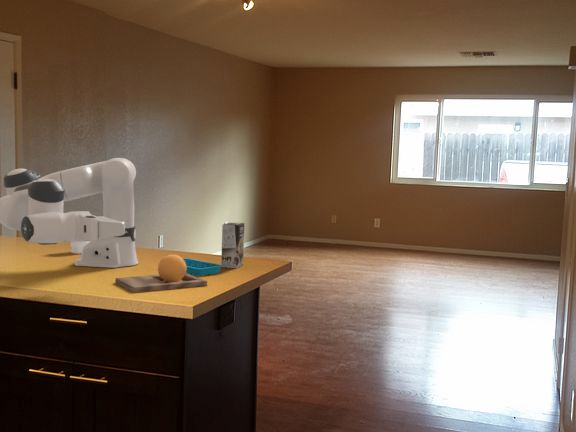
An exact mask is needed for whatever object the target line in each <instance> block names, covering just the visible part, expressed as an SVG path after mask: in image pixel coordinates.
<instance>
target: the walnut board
mask: <svg viewBox="0 0 576 432" xmlns="http://www.w3.org/2000/svg"><path fill="white" fill-rule="evenodd" d="M181 280H183V281H178V282H171V283H170V282H166V281H164V280H163V279H162V278H161V277H160V275H159V274H152V275H151V274H150V275H140V276H127V277H115V280H114V281H115V284H116V285H119V286H120V287H122V288H124V289H126V290H128V291H130V292H132V293H142V292H143V293H144V292H153V291H155V292H157V291H163V290H164V291H165V290H174V289H177V290H178V289H186V288H195V287H207V286H208V280H205V279H203V278H200V277H199V276H196V275H191V274H188V273H186V274H185V276H184V277H183V278H182V279H181Z"/></svg>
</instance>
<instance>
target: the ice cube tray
mask: <svg viewBox="0 0 576 432" xmlns="http://www.w3.org/2000/svg"><path fill="white" fill-rule="evenodd" d="M182 259H183V260H184V261H185V263H186V267H187V270H186V273H188V274H192V275H193V276H196V277H203V275H204V276H208V275H209V274H210V275H215V274H220V271H221V268H223V267H222V266H223V265H221V264H218V263H214V262H208V261H205V260H204V261H203V260H198V259H193V258H188V257H187V258H185V257H184V258H182ZM210 275H209V276H210Z"/></svg>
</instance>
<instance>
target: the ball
mask: <svg viewBox="0 0 576 432" xmlns="http://www.w3.org/2000/svg"><path fill="white" fill-rule="evenodd" d="M183 259H184V258H183V257H181V255H177V254H168V255H165V256H164V257H162V258H161V260H160V261H159V263H158V267H157V272H158V275H160V277H161V278H162V279H163V280H162V281H164V282H165V283H171V282H181V280H183V279H182V278H183V277H184V276H185V274H186V270H187V267H186V263H185V261H184V260H183Z"/></svg>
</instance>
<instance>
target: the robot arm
mask: <svg viewBox="0 0 576 432" xmlns="http://www.w3.org/2000/svg"><path fill="white" fill-rule="evenodd" d="M136 176H137V169H136V167H135V165H134V163H133V162H132V161H131V160H129V159H127V158H124V157H113V158H110V159H107V160H103V161H98V162H95V163H90V164H85V165H80V166H77V167H72V168H71V167H70V168H68V169H64V170H59V171H55V172H52V173H50V174H46V175H44V176H42V175H41V174H40V173H36V172H35V171H34V170H31V169H29V168H16V169H12V170H10V171H9V172H8V173H6V174H5V175H4V176H3V187H4V188H5V191H6V195H3V196H1V197H0V224H1V225H2V226H4V227H5V228H7V229H10V230H12V231H21V235H22V238H23V239H24V241H25V242H28V243H35V244H39V245H43V246H44V245H45V246H46V245H50V246H51V245H57V244H58V243H59V244H60V243H63V242H70V243H71V242H86V241H90V242H89V243H88V244H86V245H85V246H84V247H83V250H82V253H81V254H80V258H77V259H76V260H75V261H74V266H77V267H91V268H92V267H94V268H108V269H109V268H112V269H113V268H114V269H115V268H116V269H117V268H122V267H130V266H136V265H138V264H139V260H138V255H137V251H136V243H135V242H136V238H137V237H136V235H137V229H136V225H135V192H134V191H135V190H134V181H135V179H136ZM97 194H102V203H103V206H102V208H103V209H102V210H103V212H102V213H103V215H102V216H101V215H100V216H99V215H98V216H96V215H94V214H91V212H90V211H88V210H86V211H85V210H81V211H80V210H79V211H68V212H64V205H65V204H64V202H68V201H69V202H70V201H73V200H78V199H81V198H86V197H89V196H95V195H97Z"/></svg>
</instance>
